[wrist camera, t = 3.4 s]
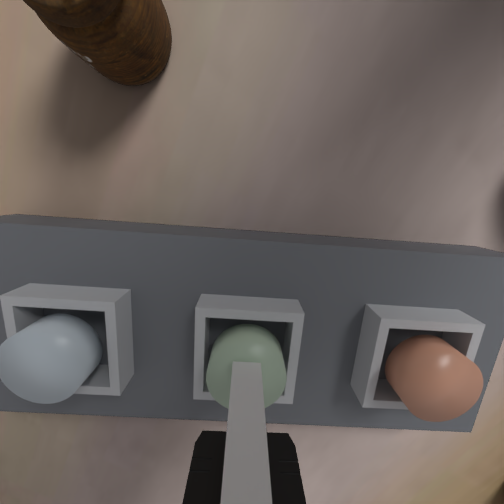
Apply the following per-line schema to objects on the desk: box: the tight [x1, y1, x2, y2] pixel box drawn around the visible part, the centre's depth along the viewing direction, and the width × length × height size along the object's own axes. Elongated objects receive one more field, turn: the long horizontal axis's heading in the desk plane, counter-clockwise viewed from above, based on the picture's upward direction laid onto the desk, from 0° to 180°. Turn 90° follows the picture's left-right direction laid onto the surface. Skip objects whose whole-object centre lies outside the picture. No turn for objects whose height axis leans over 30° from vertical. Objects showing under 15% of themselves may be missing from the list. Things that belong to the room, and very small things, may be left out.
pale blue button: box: [0, 313, 103, 404], centre depth 14 cm, size 4×4×2 cm
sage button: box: [206, 324, 287, 409], centre depth 15 cm, size 4×4×2 cm
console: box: [0, 214, 504, 432], centre depth 18 cm, size 14×36×6 cm, turn 86°
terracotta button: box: [385, 335, 483, 422], centre depth 15 cm, size 4×4×2 cm
